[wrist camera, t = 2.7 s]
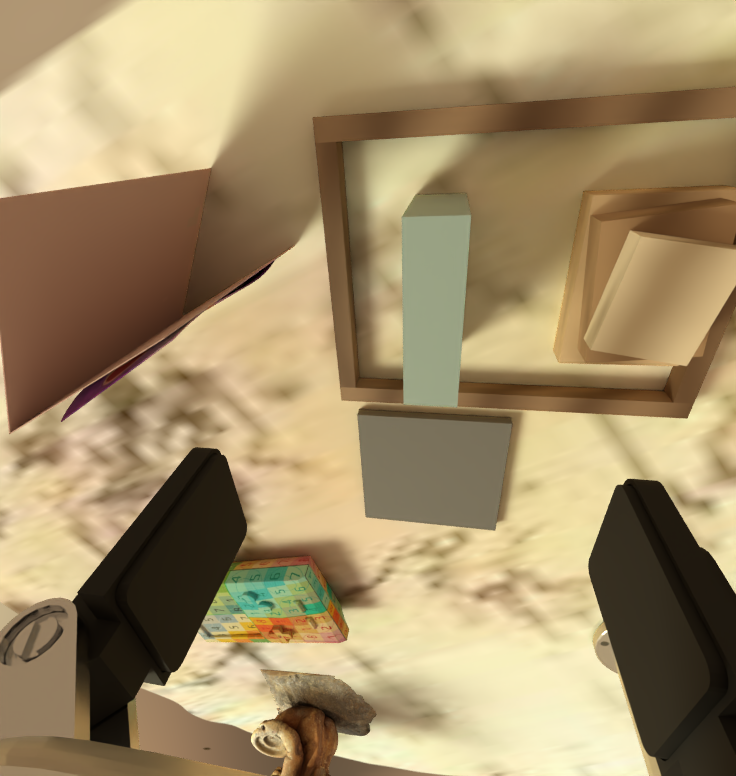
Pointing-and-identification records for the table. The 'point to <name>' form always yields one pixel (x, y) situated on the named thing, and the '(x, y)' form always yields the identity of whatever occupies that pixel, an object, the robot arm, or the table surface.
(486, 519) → the mat
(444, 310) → the pale teal block
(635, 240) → the offcut small
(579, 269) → the offcut large
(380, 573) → the table surface
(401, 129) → the brown wooden frame
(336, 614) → the puzzle game
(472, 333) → the table surface
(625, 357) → the offcut mid
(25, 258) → the greeting card
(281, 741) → the cherub figurine
